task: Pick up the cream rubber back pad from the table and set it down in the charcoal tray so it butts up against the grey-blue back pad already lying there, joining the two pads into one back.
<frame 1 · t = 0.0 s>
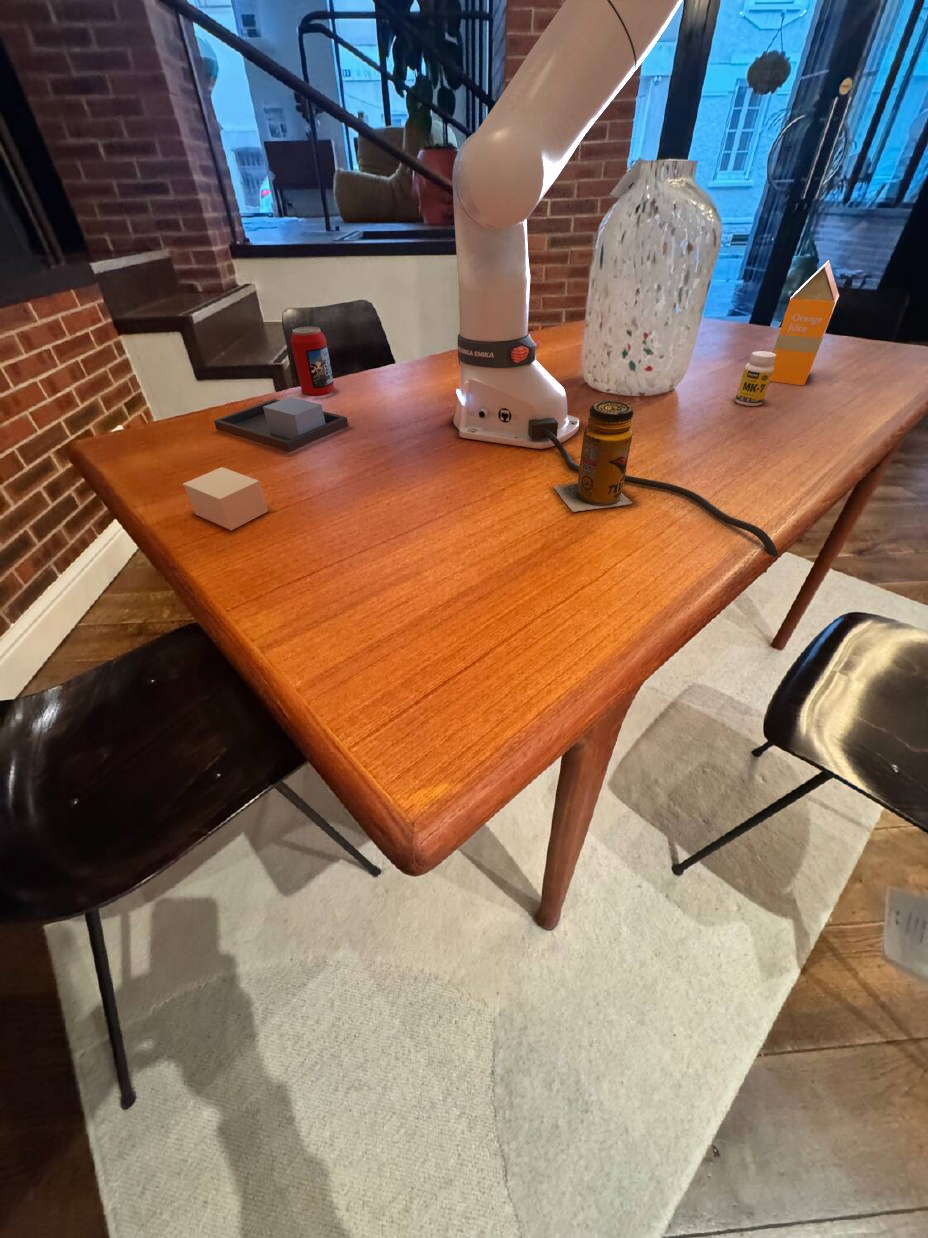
cream pad: (231, 512, 71), on the table
beverage can: (319, 394, 109), on the table
blue pad: (298, 431, 91), resting on tray
supplement bottle: (748, 403, 98), on the table
tray: (283, 430, 94), on the table
orange juice: (786, 378, 109), on the table
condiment: (591, 497, 72), on the table
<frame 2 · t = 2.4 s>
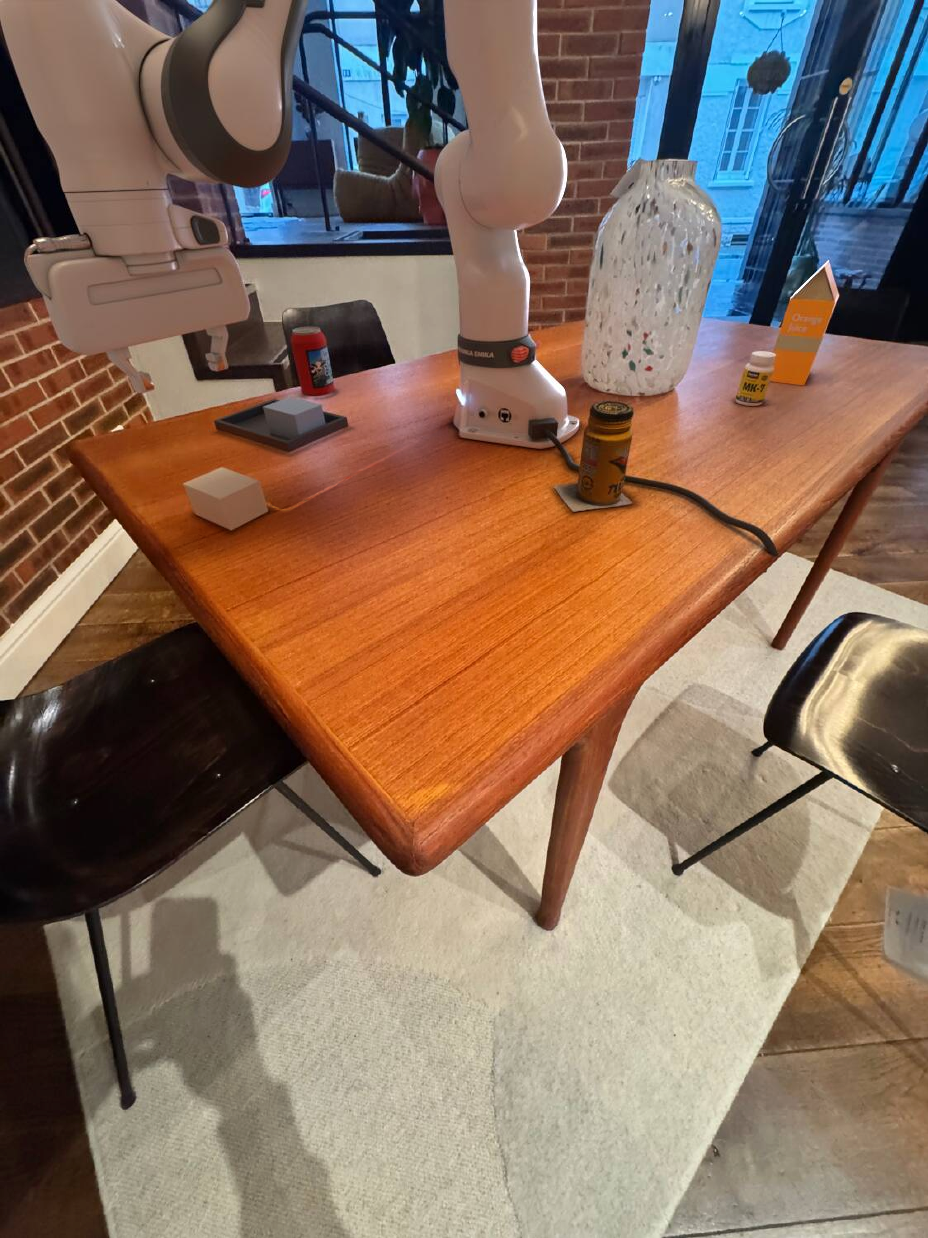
hand: (184, 379, 60), 17 cm above the table, tool pointing down, fingers open, 8 cm apart
nothing on the table moved.
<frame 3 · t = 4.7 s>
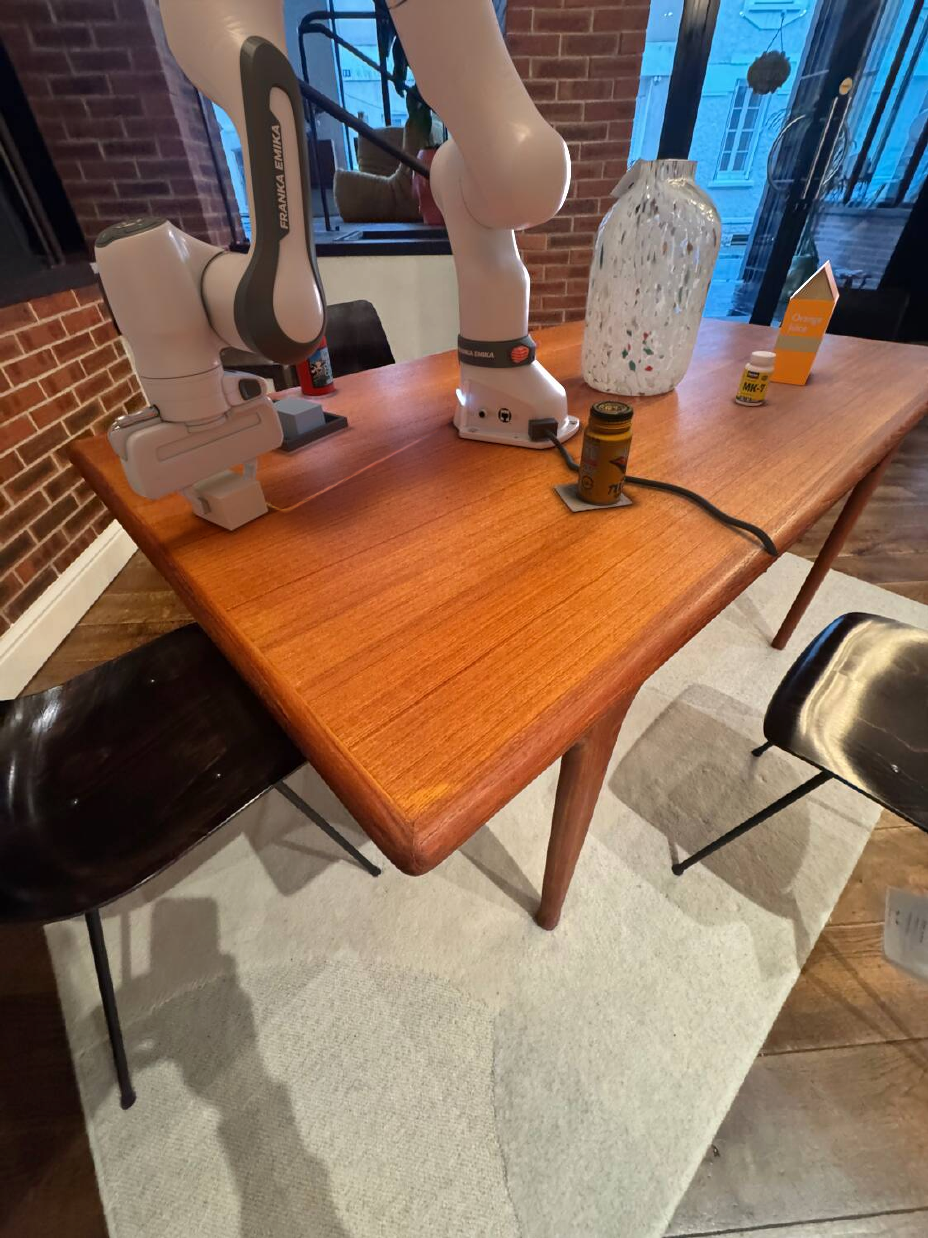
hand: (227, 501, 70), 2 cm above the table, tool pointing down, fingers closed on cream pad, 6 cm apart
cream pad: (231, 512, 71), on the table, touching gripper
everything else where it was.
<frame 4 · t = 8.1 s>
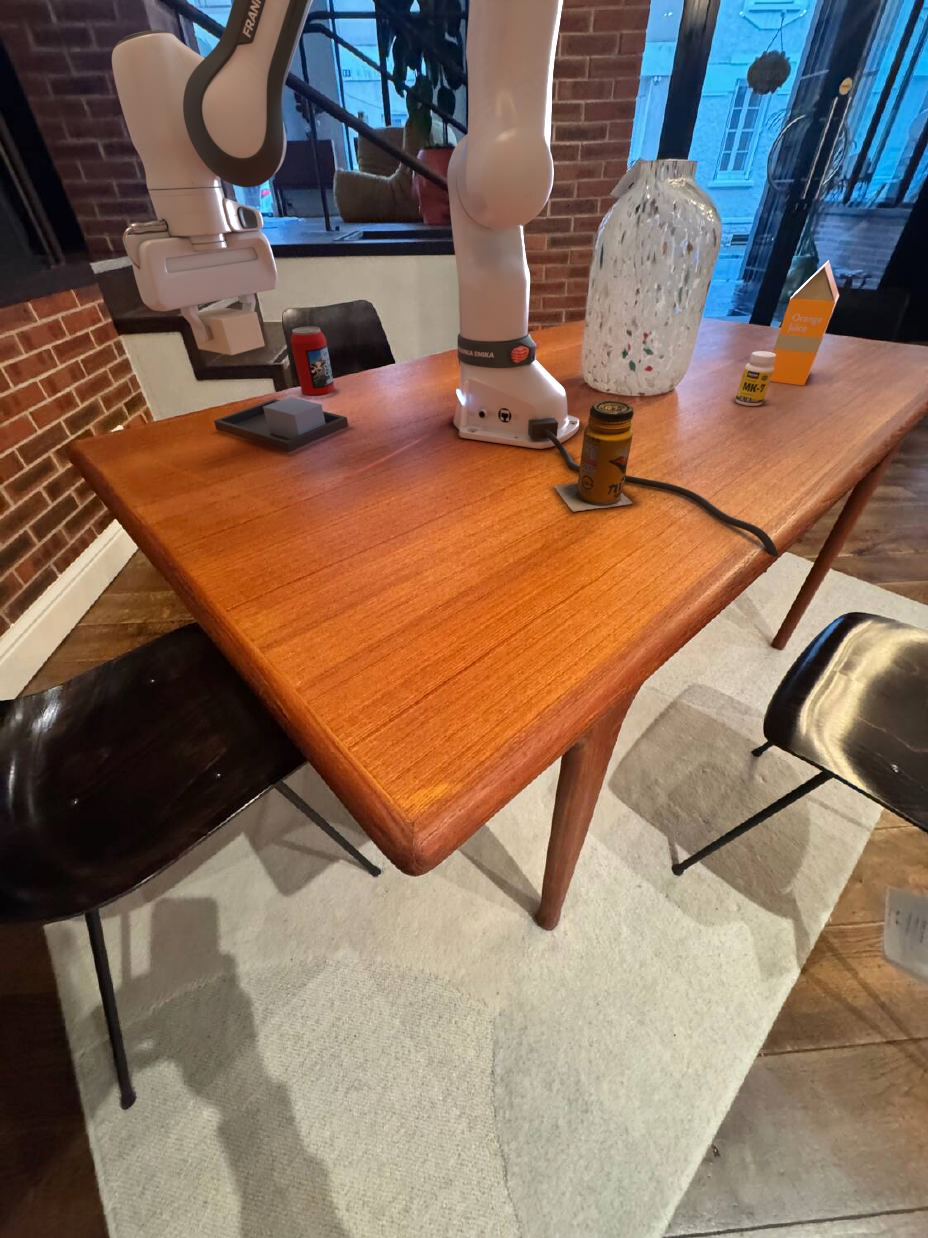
hand: (228, 334, 77), 17 cm above the table, tool pointing down, fingers closed on cream pad, 6 cm apart
cream pad: (231, 347, 78), point 15 cm above the table, touching gripper
everything else where it was.
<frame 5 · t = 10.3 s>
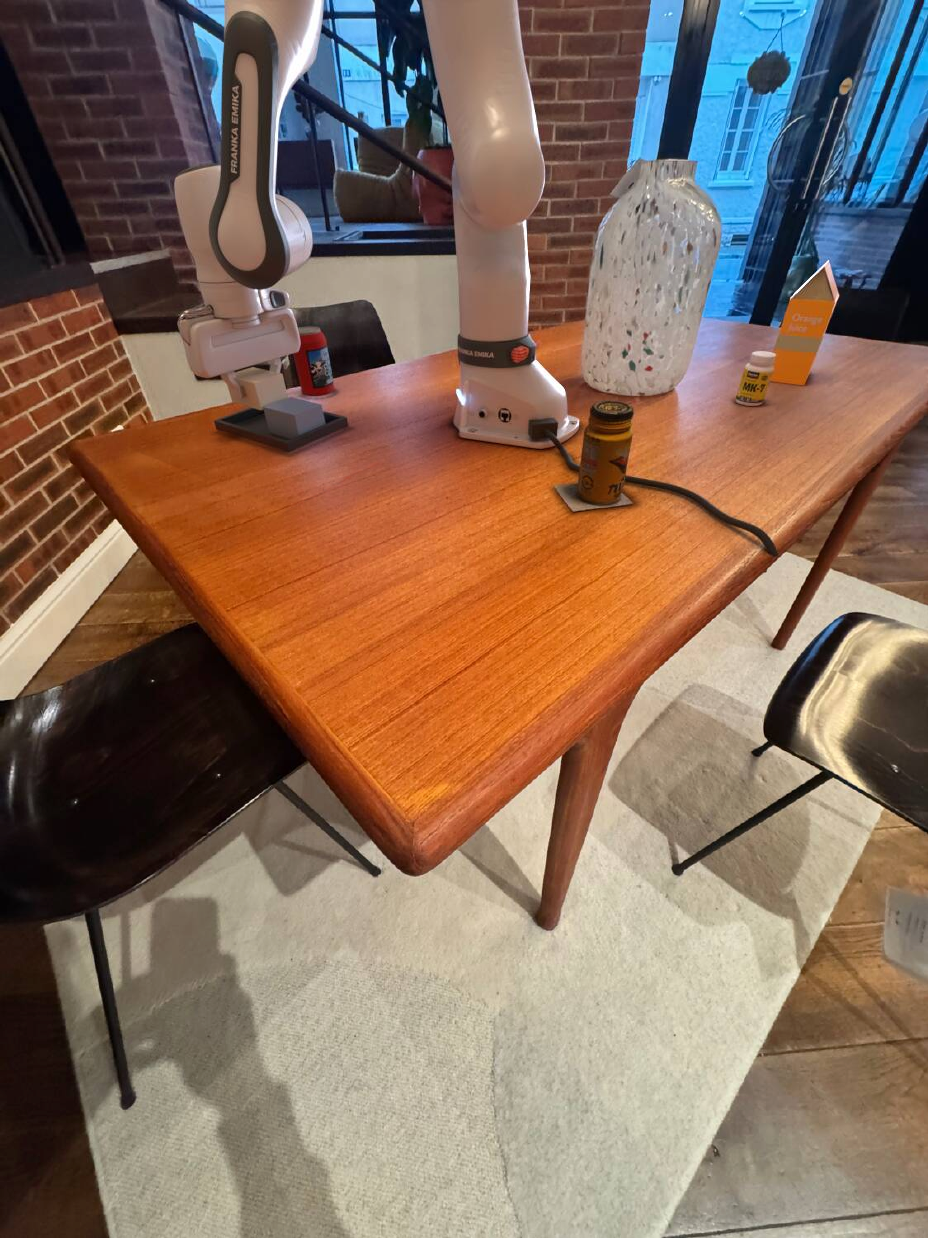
hand: (258, 391, 91), 6 cm above the table, tool pointing down, fingers closed on cream pad, 6 cm apart
cream pad: (260, 401, 92), point 4 cm above the table, touching gripper
everything else where it was.
when the fingers open (2 cm above the table, at t = 12.0 s): cream pad stays where it is, resting on tray.
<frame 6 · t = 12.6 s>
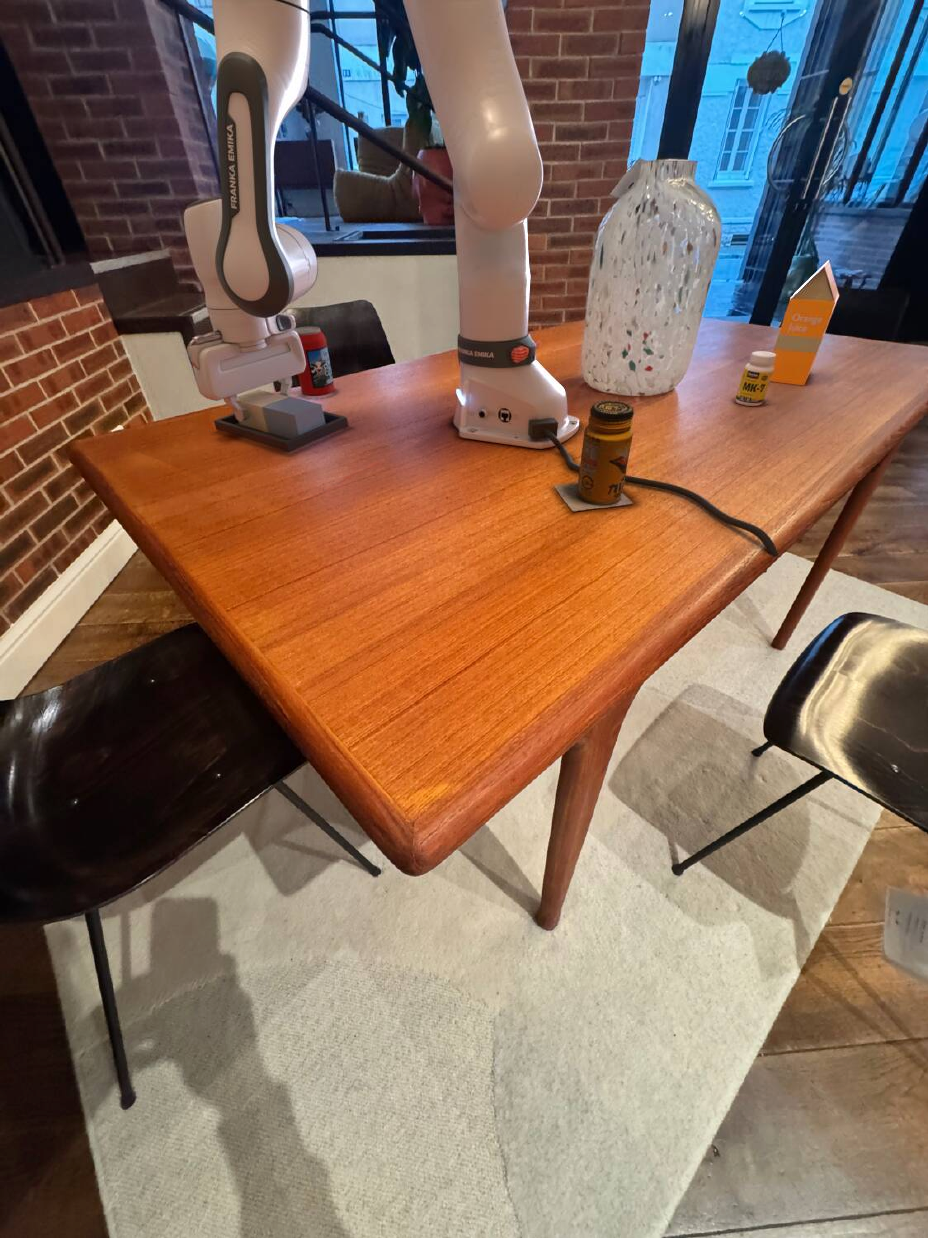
hand: (265, 411, 94), 3 cm above the table, tool pointing down, fingers open, 8 cm apart
cream pad: (266, 423, 95), point 1 cm above the table, touching tray
everything else where it was.
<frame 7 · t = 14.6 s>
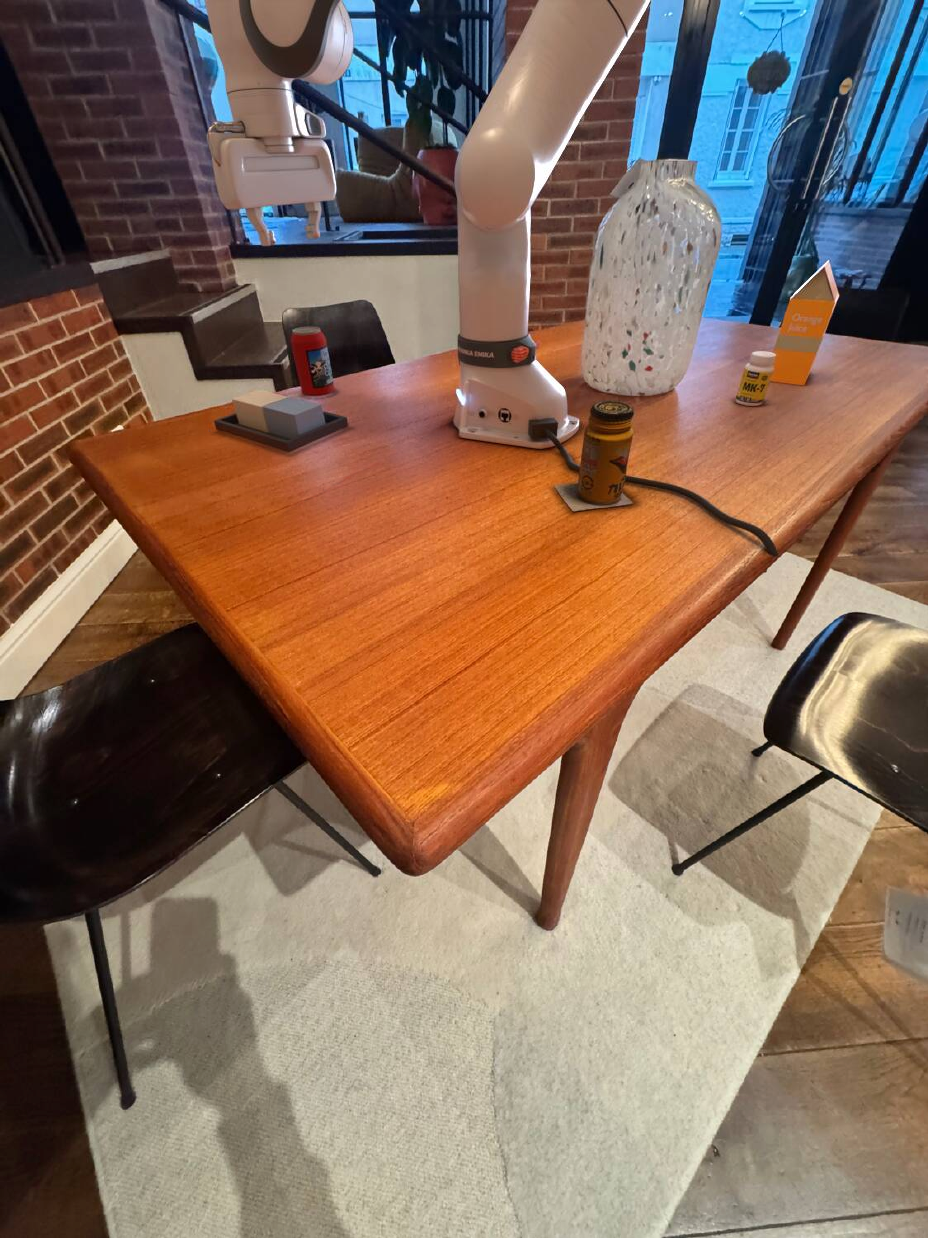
hand: (292, 241, 83), 27 cm above the table, tool pointing down, fingers open, 8 cm apart
nothing on the table moved.
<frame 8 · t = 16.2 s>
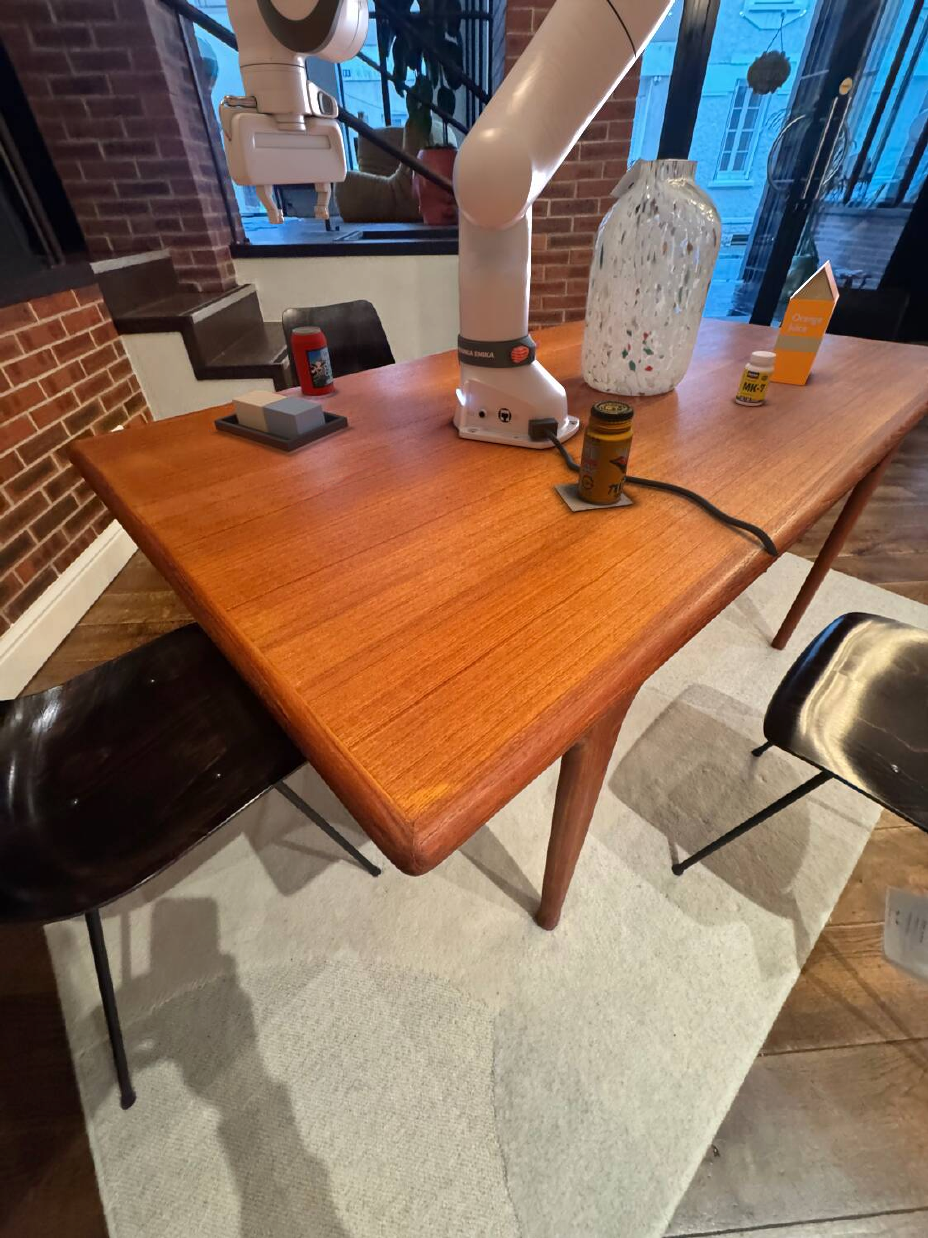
hand: (300, 221, 83), 29 cm above the table, tool pointing down, fingers open, 8 cm apart
nothing on the table moved.
at the end: cream pad 0.2 cm from the target spot in the tray, point 0.6 cm above the tray's base; cream pad 8.4 cm from the blue pad (horizontally); cream pad tilted 0° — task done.
